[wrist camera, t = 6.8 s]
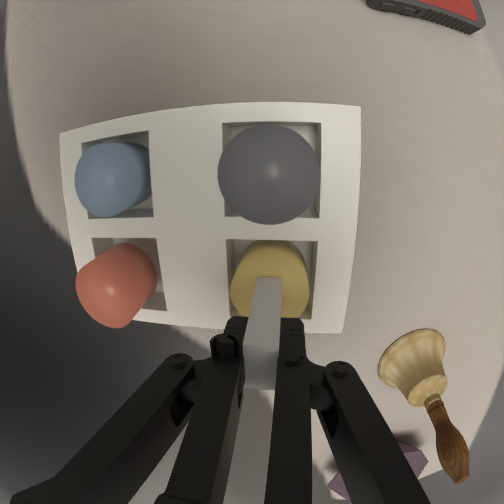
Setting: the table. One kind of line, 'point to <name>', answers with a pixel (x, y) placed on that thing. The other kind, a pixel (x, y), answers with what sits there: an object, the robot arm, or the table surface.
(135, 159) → the button slate
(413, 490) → the robot arm
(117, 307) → the button brick
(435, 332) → the hand bell
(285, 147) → the button charcoal
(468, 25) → the walkie-talkie
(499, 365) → the table surface
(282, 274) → the button mustard
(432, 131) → the table surface
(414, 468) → the flask
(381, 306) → the table surface
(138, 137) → the console
